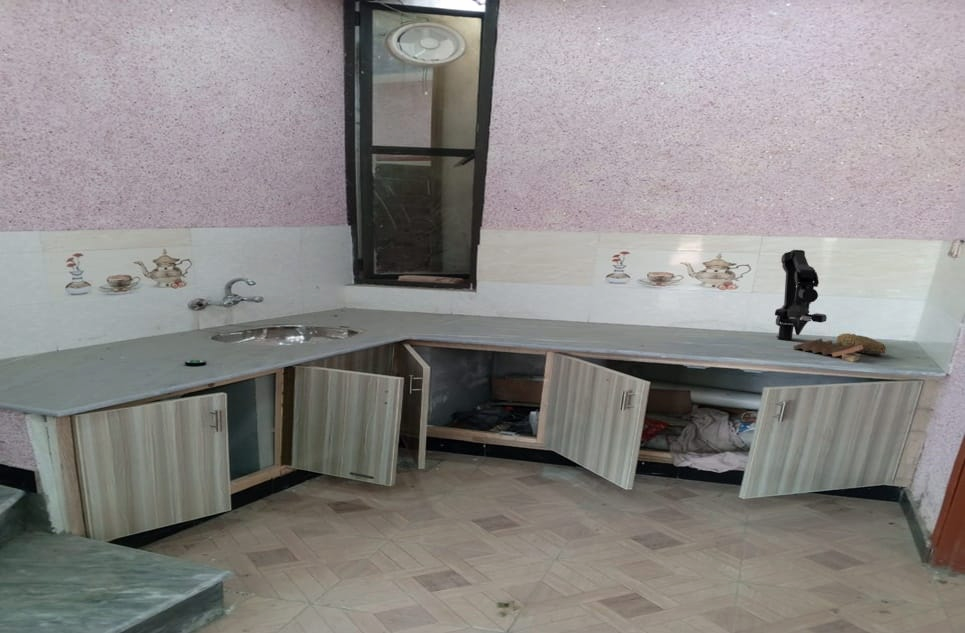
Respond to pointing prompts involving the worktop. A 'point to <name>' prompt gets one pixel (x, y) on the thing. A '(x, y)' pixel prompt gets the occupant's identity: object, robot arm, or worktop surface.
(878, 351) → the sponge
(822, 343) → the domino
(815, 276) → the robot arm
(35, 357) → the worktop surface
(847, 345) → the domino
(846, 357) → the stop block
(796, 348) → the brown rectangular block
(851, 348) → the domino
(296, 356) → the worktop surface
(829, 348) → the domino
